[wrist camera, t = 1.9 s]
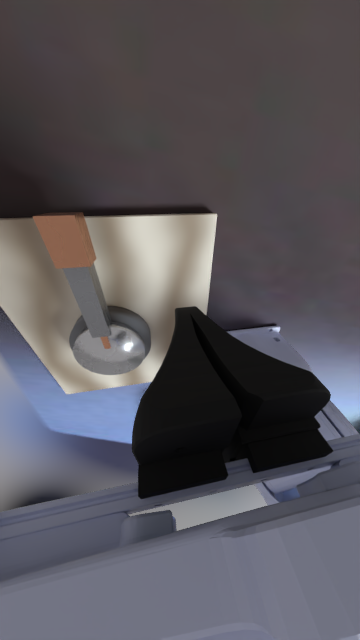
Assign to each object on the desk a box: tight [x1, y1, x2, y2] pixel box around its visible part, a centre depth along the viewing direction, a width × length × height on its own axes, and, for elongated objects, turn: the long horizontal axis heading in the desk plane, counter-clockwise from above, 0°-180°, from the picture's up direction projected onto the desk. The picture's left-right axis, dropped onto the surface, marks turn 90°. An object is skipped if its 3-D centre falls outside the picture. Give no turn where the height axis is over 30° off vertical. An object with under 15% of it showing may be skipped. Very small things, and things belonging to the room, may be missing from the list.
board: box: [0, 213, 217, 394], centre depth 19 cm, size 20×22×2 cm
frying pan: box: [32, 212, 145, 375], centre depth 15 cm, size 7×16×2 cm, turn 0°
